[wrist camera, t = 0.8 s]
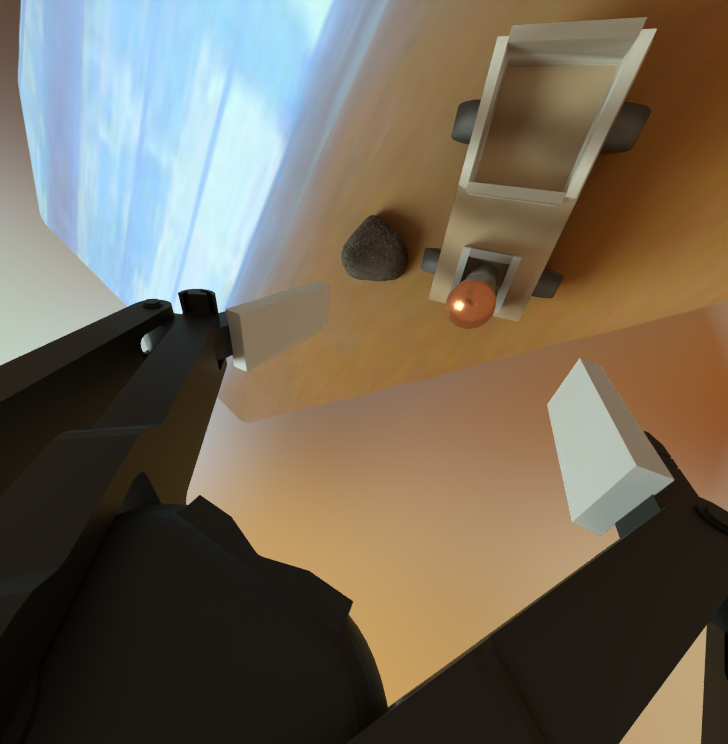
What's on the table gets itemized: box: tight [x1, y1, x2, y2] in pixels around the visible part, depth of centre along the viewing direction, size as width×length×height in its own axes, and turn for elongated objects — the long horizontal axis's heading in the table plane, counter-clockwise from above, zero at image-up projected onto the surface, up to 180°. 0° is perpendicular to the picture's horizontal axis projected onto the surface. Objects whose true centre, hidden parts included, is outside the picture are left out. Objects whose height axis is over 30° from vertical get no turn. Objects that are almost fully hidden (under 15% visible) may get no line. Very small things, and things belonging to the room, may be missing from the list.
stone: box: [341, 215, 408, 281], centre depth 41 cm, size 10×8×10 cm
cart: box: [421, 17, 657, 322], centre depth 28 cm, size 22×17×12 cm
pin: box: [445, 263, 497, 329], centre depth 25 cm, size 4×4×13 cm
